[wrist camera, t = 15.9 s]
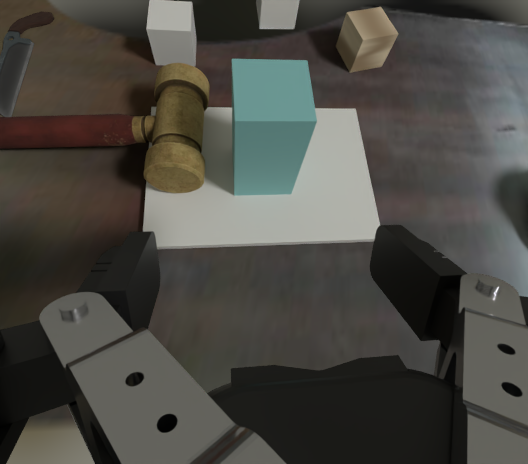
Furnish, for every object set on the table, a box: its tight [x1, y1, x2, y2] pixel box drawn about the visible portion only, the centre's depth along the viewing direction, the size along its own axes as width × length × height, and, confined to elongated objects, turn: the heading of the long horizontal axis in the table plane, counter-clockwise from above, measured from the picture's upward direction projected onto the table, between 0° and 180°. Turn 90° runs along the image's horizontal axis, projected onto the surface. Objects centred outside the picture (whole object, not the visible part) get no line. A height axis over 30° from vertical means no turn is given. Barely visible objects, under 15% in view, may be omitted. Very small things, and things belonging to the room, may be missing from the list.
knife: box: [0, 12, 54, 117], centre depth 32 cm, size 14×4×1 cm, turn 2°
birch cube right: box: [336, 7, 398, 72], centre depth 35 cm, size 4×4×4 cm
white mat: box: [143, 107, 380, 249], centre depth 30 cm, size 20×14×1 cm
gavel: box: [0, 63, 209, 193], centre depth 27 cm, size 21×5×10 cm
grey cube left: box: [146, 0, 196, 66], centre depth 33 cm, size 4×4×4 cm
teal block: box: [232, 59, 317, 196], centre depth 25 cm, size 5×5×10 cm
